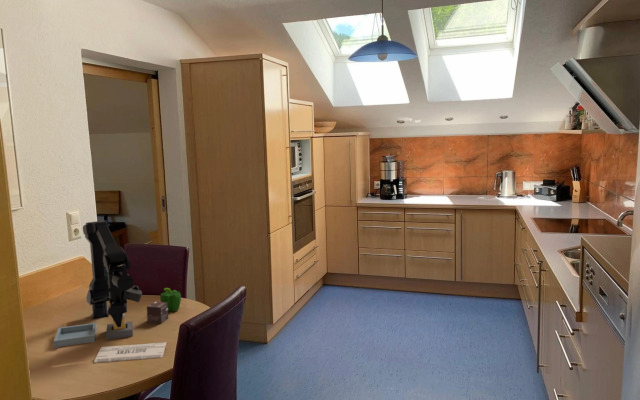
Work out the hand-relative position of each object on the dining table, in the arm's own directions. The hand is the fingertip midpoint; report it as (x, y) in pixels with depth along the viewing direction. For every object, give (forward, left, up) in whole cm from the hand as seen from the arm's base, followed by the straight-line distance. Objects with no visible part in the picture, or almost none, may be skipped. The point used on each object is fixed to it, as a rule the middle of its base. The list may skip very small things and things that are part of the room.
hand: (119, 324), depth 186 cm
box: (-8, +14, -4) cm, 17 cm away
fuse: (0, 0, -4) cm, 4 cm away
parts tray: (-2, -15, -4) cm, 16 cm away
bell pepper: (-20, +20, -4) cm, 29 cm away
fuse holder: (0, 0, -4) cm, 4 cm away
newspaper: (+18, +4, -5) cm, 19 cm away
